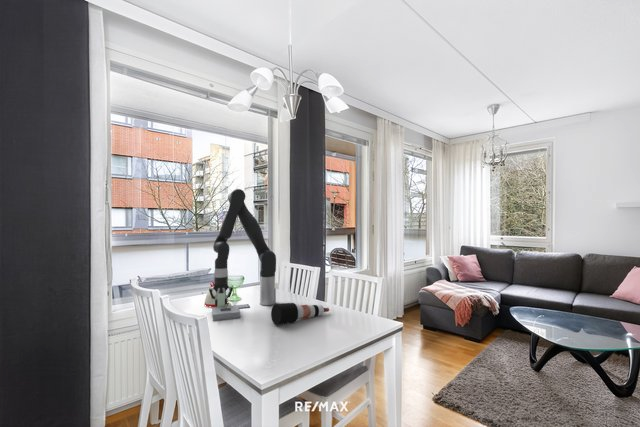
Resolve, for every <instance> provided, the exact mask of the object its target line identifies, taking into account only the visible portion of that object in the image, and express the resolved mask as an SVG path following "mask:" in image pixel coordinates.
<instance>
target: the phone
mask: <svg viewBox="0 0 640 427" xmlns="http://www.w3.org/2000/svg"><path fill="white" fill-rule="evenodd" d="M237 305H238V308H239V310H241V309H242V310H243V309H251V306H250V304H249V303H246V304H244V303H243V304H237Z"/></svg>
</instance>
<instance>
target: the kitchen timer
mask: <svg viewBox="0 0 640 427" xmlns="http://www.w3.org/2000/svg"><path fill="white" fill-rule="evenodd" d="M209 285H210V288H213V287H214V281H212V283H210V284H209ZM212 293H213V296H215V295H216V291H215V290H214V289H213V292H212ZM227 302H228V303H229V298H227ZM205 305H206V306H211V307H210V308H212V307H217V306H216V305H215V299H212V297H211V295H210V292H209V290H208V291H207V292H206V295H205V298H204V306H205ZM206 306H205V307H206Z"/></svg>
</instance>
